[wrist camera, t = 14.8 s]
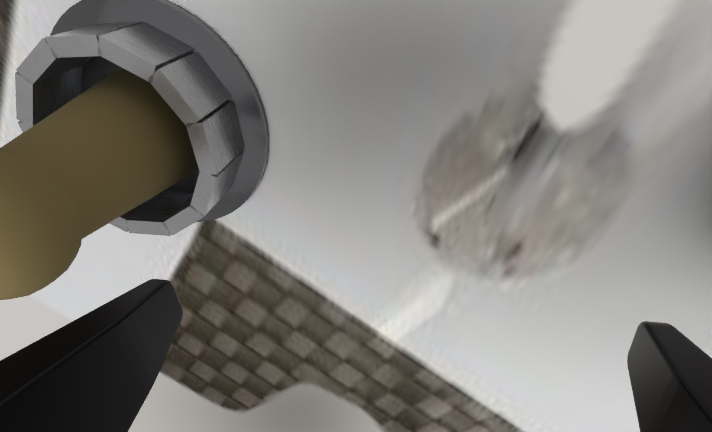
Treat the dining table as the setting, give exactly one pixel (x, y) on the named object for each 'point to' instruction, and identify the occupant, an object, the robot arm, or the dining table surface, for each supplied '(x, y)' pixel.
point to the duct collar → (175, 85)
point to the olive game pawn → (84, 175)
